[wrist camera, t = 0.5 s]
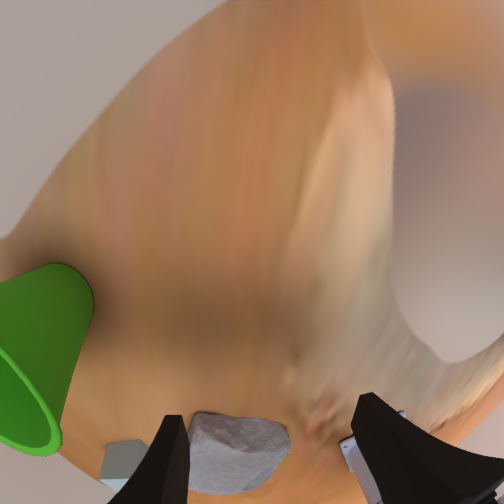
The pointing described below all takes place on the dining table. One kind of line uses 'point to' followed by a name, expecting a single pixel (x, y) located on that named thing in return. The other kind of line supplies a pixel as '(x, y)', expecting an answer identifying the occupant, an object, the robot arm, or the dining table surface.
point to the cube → (121, 462)
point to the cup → (39, 353)
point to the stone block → (233, 453)
